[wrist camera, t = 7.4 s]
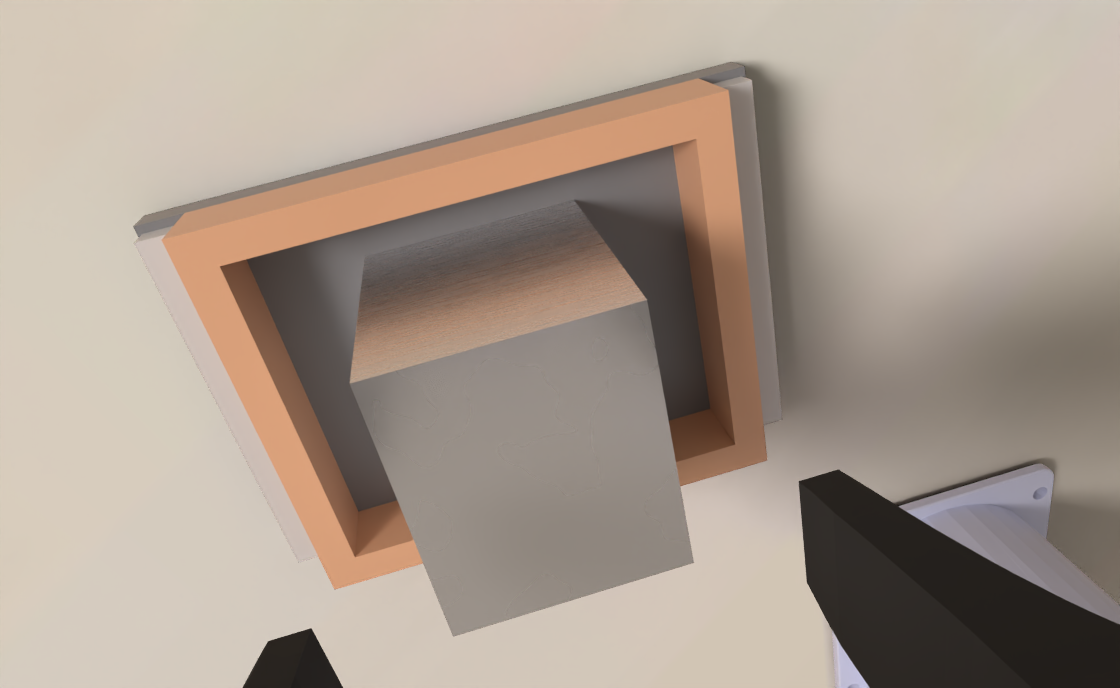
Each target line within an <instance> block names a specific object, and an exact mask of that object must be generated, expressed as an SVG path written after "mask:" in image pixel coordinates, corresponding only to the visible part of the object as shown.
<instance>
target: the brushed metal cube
mask: <svg viewBox="0 0 1120 688" xmlns="http://www.w3.org/2000/svg"><path fill="white" fill-rule="evenodd" d="M350 386H351V388H352V391H353V393H354V396H355V398H356V401H357V403H358V405H359V408H360V410H361V413H362V415H363V418H364V420H365V423H366V425H367V427H368V430H369V432H370V435H371V437H372V440H373V442H374V444H375V447H376V449H377V452H378V454H379V457H380V459H381V462H382V464H383V466H384V469H385V471H386V474H387V476H388V479H389V481H390V483H391V486H392V488H393V491H394V493H395V496H396V498H397V501H398V503H399V505H400V508H401V510H402V513H403V515H404V518H405V520H406V523H407V525H408V527H409V530H410V532H411V535H412V537H413V540H414V542H415V544H416V547H417V549H418V552H419V554H420V557H421V559H422V562H423V564H424V566H425V569H426V571H427V574H428V576H429V579H430V581H431V583H432V586H433V588H434V591H435V593H436V596H437V598H438V601H439V603H440V605H441V608H442V610H443V613H444V615H445V618H446V620H447V622H448V625H449V627H450V630H451V632H452V635H453V636H457V635H460V634H463V633H467V632H470V631H473V630H476V629H480V628H483V627H486V626H489V625H493V624H496V623H499V622H502V621H506V620H509V619H512V618H515V617H519V616H522V615H525V614H528V613H532V612H535V611H538V610H541V609H545V608H548V607H551V606H554V605H558V604H561V603H564V602H568V601H571V600H574V599H577V598H581V597H584V596H587V595H590V594H594V593H597V592H600V591H603V590H607V589H610V588H613V587H616V586H620V585H623V584H626V583H629V582H633V581H636V580H639V579H642V578H646V577H649V576H652V575H656V574H659V573H662V572H665V571H669V570H672V569H675V568H678V567H682V566H685V565H688V564H691V563H694V561H693V556H692V550H691V544H690V539H689V533H688V528H687V522H686V516H685V511H684V505H683V499H682V494H681V488H680V483H679V477H678V471H677V466H676V460H675V454H674V449H673V443H672V438H671V432H670V426H669V421H668V415H667V409H666V404H665V398H664V393H663V387H662V381H661V376H660V370H659V364H658V359H657V353H656V348H655V342H654V336H653V331H652V325H651V319H650V314H649V308H648V303H647V299H646V298H645V296H644V295H643V294H642V292H641V291H640V290H639V288H638V287H637V285H636V284H635V283H634V281H633V280H632V279H631V277H630V276H629V274H628V273H627V272H626V270H625V269H624V268H623V266H622V265H621V264H620V262H619V261H618V259H617V258H616V257H615V255H614V254H613V253H612V251H611V250H610V249H609V247H608V246H607V244H606V243H605V242H604V240H603V239H602V238H601V236H600V235H599V233H598V232H597V231H596V229H595V228H594V227H593V225H592V224H591V223H590V221H589V220H588V218H587V217H586V216H585V214H584V213H583V212H582V210H581V209H580V208H579V206H578V205H577V203H576V202H575V201H574V200H571V201H568V202H564V203H560V204H556V205H553V206H549V207H545V208H542V209H538V210H534V211H531V212H527V213H523V214H520V215H516V216H512V217H509V218H505V219H501V220H498V221H494V222H490V223H486V224H483V225H479V226H475V227H472V228H468V229H464V230H461V231H457V232H453V233H450V234H446V235H442V236H439V237H435V238H431V239H427V240H424V241H420V242H416V243H413V244H409V245H405V246H402V247H398V248H394V249H391V250H387V251H383V252H380V253H376V254H372V255H369V256H365V258H364V266H363V274H362V283H361V291H360V300H359V308H358V317H357V325H356V334H355V342H354V350H353V359H352V367H351V376H350Z"/></svg>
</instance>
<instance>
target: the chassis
mask: <svg viewBox="0 0 1120 688" xmlns="http://www.w3.org/2000/svg"><path fill="white" fill-rule="evenodd" d="M571 200H574V201H575V202H576V203H577V205H578V206H579V208H580V209H581V210H582V212H583V213H584V214H585V216H586V217H587V218H588V220H589V221H590V223H591V224H592V225H593V227H594V228H595V229H596V231H597V232H598V233H599V235H600V236H601V238H602V239H603V240H604V242H605V243H606V244H607V246H608V247H609V249H610V250H611V251H612V253H613V254H614V255H615V257H616V258H617V259H618V261H619V262H620V264H621V265H622V266H623V268H624V269H625V270H626V272H627V273H628V274H629V276H630V277H631V279H632V280H633V281H634V283H635V284H636V285H637V287H638V288H639V290H640V291H641V292H642V294H643V295H644V296H645V298H646V299H647V303H648V308H649V314H650V319H651V325H652V331H653V336H654V342H655V348H656V353H657V359H658V364H659V370H660V376H661V381H662V387H663V393H664V398H665V404H666V409H667V415H668V421H669V426H670V432H671V438H672V443H673V449H674V454H675V460H676V466H677V471H678V477H679V483H680V486H683V485H686V484H690V483H693V482H696V481H700V480H703V479H706V478H710V477H713V476H716V475H720V474H723V473H726V472H730V471H733V470H736V469H740V468H743V467H746V466H750V465H753V464H757V463H760V462H763V461H767V453H766V444H765V434H764V425H765V424H769V423H772V422H776V421H779V420H782V409H781V398H780V387H779V376H778V365H777V353H776V342H775V331H774V320H773V309H772V298H771V286H770V275H769V264H768V253H767V242H766V231H765V220H764V208H763V197H762V186H761V175H760V164H759V153H758V141H757V130H756V119H755V108H754V97H753V86H752V80H751V79H748V78H746V76H745V66H743V65H739V64H736V63H733V62H729V63H725V64H721V65H718V66H714V67H710V68H706V69H702V70H698V71H695V72H691V73H687V74H683V75H679V76H676V77H672V78H668V79H664V80H660V81H656V82H653V83H649V84H645V85H641V86H637V87H633V88H630V89H626V90H622V91H618V92H614V93H611V94H607V95H603V96H599V97H595V98H591V99H588V100H584V101H580V102H576V103H572V104H569V105H565V106H561V107H557V108H553V109H549V110H546V111H542V112H538V113H534V114H530V115H527V116H523V117H519V118H515V119H511V120H507V121H504V122H500V123H496V124H492V125H488V126H485V127H481V128H477V129H473V130H469V131H465V132H462V133H458V134H454V135H450V136H446V137H442V138H439V139H435V140H431V141H427V142H423V143H420V144H416V145H412V146H408V147H404V148H400V149H397V150H393V151H389V152H385V153H381V154H378V155H374V156H370V157H366V158H362V159H358V160H355V161H351V162H347V163H343V164H339V165H336V166H332V167H328V168H324V169H320V170H316V171H313V172H309V173H305V174H301V175H297V176H293V177H290V178H286V179H282V180H278V181H274V182H271V183H267V184H263V185H259V186H255V187H251V188H248V189H244V190H240V191H236V192H232V193H229V194H225V195H221V196H217V197H213V198H209V199H206V200H202V201H198V202H194V203H190V204H187V205H183V206H179V207H175V208H171V209H167V210H164V211H160V212H156V213H152V214H148V215H145V216H143V217H142V218H141V219H140V220H139V221H138V222H137V223H136V224H135V225H134V226H133V227H134V229H135V231H136V233H137V235H138V237H139V238H138V239H137V240H136V241H135V242H134V245H135V246H136V248H137V250H138V252H139V254H140V256H141V258H142V260H143V262H144V264H145V266H146V268H147V270H148V272H149V274H150V276H151V278H152V279H153V281H154V283H155V285H156V287H157V289H158V291H159V293H160V295H161V297H162V299H163V301H164V303H165V305H166V307H167V309H168V310H169V312H170V314H171V316H172V318H173V320H174V322H175V324H176V326H177V328H178V330H179V332H180V334H181V336H182V338H183V340H184V342H185V343H186V345H187V347H188V349H189V351H190V353H191V355H192V357H193V359H194V361H195V363H196V365H197V367H198V369H199V371H200V373H201V375H202V376H203V378H204V380H205V382H206V384H207V386H208V388H209V390H210V392H211V394H212V396H213V398H214V400H215V402H216V404H217V406H218V407H219V409H220V411H221V413H222V415H223V417H224V419H225V421H226V423H227V425H228V427H229V429H230V431H231V433H232V435H233V437H234V439H235V440H236V442H237V444H238V446H239V448H240V450H241V452H242V454H243V456H244V458H245V460H246V462H247V464H248V466H249V468H250V470H251V471H252V473H253V475H254V477H255V479H256V481H257V483H258V485H259V487H260V489H261V491H262V493H263V495H264V497H265V499H266V501H267V503H268V504H269V506H270V508H271V510H272V512H273V514H274V516H275V518H276V520H277V522H278V524H279V526H280V528H281V530H282V532H283V534H284V536H285V537H286V539H287V541H288V543H289V545H290V547H291V549H292V551H293V553H294V555H295V557H296V559H297V561H298V563H299V562H302V561H305V560H309V559H312V558H316V557H319V559H320V561H321V563H322V565H323V567H324V569H325V571H326V573H327V575H328V577H329V579H330V581H331V583H332V585H333V587H334V589H338V588H342V587H345V586H348V585H352V584H355V583H358V582H362V581H365V580H368V579H372V578H375V577H378V576H382V575H385V574H389V573H392V572H395V571H399V570H402V569H405V568H409V567H412V566H415V565H419V564H422V563H423V562H422V559H421V557H420V554H419V552H418V549H417V547H416V544H415V542H414V540H413V537H412V535H411V532H410V530H409V527H408V525H407V523H406V520H405V518H404V515H403V513H402V510H401V508H400V505H399V503H398V501H397V498H396V496H395V493H394V491H393V488H392V486H391V483H390V481H389V479H388V476H387V474H386V471H385V469H384V466H383V464H382V462H381V459H380V457H379V454H378V452H377V449H376V447H375V444H374V442H373V440H372V437H371V435H370V432H369V430H368V427H367V425H366V423H365V420H364V418H363V415H362V413H361V410H360V408H359V405H358V403H357V401H356V398H355V396H354V393H353V391H352V388H351V386H350V376H351V367H352V359H353V350H354V342H355V334H356V325H357V317H358V308H359V300H360V291H361V283H362V274H363V266H364V258H365V256H369V255H372V254H376V253H380V252H383V251H387V250H391V249H394V248H398V247H402V246H405V245H409V244H413V243H416V242H420V241H424V240H427V239H431V238H435V237H439V236H442V235H446V234H450V233H453V232H457V231H461V230H464V229H468V228H472V227H475V226H479V225H483V224H486V223H490V222H494V221H498V220H501V219H505V218H509V217H512V216H516V215H520V214H523V213H527V212H531V211H534V210H538V209H542V208H545V207H549V206H553V205H556V204H560V203H564V202H568V201H571Z"/></svg>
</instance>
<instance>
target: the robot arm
mask: <svg viewBox="0 0 1120 688" xmlns="http://www.w3.org/2000/svg"><path fill="white" fill-rule="evenodd" d="M1053 482H1054V473H1053V472H1052V470H1051V469H1049V468H1048V467H1047V466H1045V465H1044V464H1034V465H1031V466H1028V467H1024V468H1021V469H1018V470H1015V471H1011V472H1008V473H1005V474H1002V475H998V476H995V477H992V478H989V479H985V480H982V481H979V482H976V483H972V484H969V485H966V486H962V487H959V488H956V489H953V490H949V491H946V492H943V493H940V494H936V495H933V496H930V497H927V498H923V499H920V500H917V501H914V502H910V503H907V504H904V505H901V506H897V505H895V504H893V503H892V502H890V501H889V500H887V499H885V498H884V497H882V496H881V495H879V494H877V493H876V492H874V491H873V490H871V489H869V488H868V487H866V486H864V485H863V484H861V483H860V482H858V481H856V480H855V479H853V478H851V477H850V476H848V475H846V474H845V473H843V472H841V471H840V470H835V471H832V472H829V473H825V474H822V475H819V476H815V477H812V478H809V479H805V480H802V481H799V490H800V503H801V515H802V527H803V540H804V552H805V565H806V577H807V583H808V585H809V587H810V589H811V591H812V593H813V595H814V597H815V599H816V600H817V602H818V604H819V606H820V608H821V610H822V612H823V614H824V616H825V618H826V620H827V621H828V623H829V625H830V627H831V629H832V636H833V652H834V668H835V685H836V688H1120V605H1119V604H1118V603H1117V602H1116V601H1115V600H1113V599H1112V598H1111V597H1110V596H1109V595H1108V594H1107V593H1106V592H1105V591H1103V590H1102V589H1101V588H1100V587H1099V586H1098V585H1097V584H1096V583H1094V582H1093V581H1092V580H1091V579H1090V578H1089V577H1088V576H1087V575H1085V574H1084V573H1083V572H1082V571H1081V570H1080V569H1079V568H1078V567H1077V566H1075V565H1074V564H1073V563H1072V562H1071V561H1070V560H1069V559H1068V558H1066V557H1065V556H1064V555H1063V554H1062V553H1061V552H1060V551H1059V550H1058V549H1056V548H1055V547H1054V546H1053V545H1052V544H1051V543H1050V542H1049V541H1047V540H1046V538H1047V530H1048V522H1049V514H1050V506H1051V498H1052V490H1053ZM243 688H343V687H342V685H341V683H340V681H339V679H338V677H337V675H336V674H335V672H334V670H333V668H332V666H331V664H330V662H329V661H328V659H327V657H326V655H325V653H324V651H323V649H322V647H321V646H320V644H319V642H318V640H317V638H316V636H315V634H314V632H313V631H312V629H307V630H304V631H301V632H297V633H294V634H291V635H287V636H284V637H281V638H278V639H274V640H271V641H268V643H267V644H266V646H265V648H264V649H263V651H262V653H261V655H260V657H259V658H258V660H257V662H256V664H255V666H254V667H253V669H252V671H251V673H250V675H249V677H248V679H247V680H246V682H245V684H244V686H243Z"/></svg>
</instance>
